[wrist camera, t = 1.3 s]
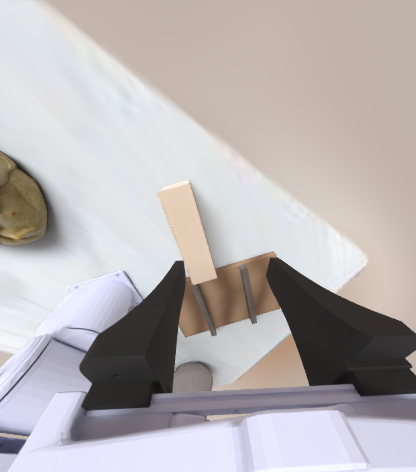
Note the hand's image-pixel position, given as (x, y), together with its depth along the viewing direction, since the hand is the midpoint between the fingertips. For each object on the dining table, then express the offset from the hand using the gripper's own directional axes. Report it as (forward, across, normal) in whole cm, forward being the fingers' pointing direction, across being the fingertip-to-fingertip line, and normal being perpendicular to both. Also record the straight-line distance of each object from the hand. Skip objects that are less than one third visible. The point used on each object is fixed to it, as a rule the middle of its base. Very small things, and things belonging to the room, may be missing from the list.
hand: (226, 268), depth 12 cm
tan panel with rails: (+11, -2, +17) cm, 21 cm away
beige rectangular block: (+12, +4, +1) cm, 12 cm away
